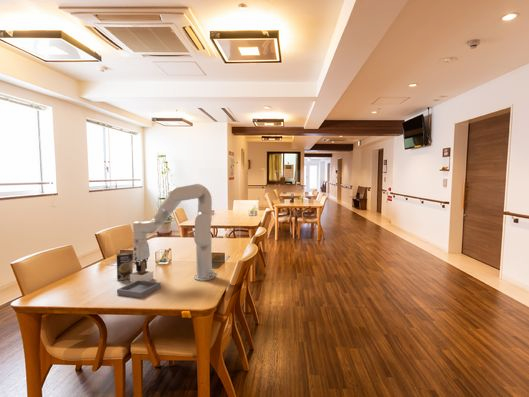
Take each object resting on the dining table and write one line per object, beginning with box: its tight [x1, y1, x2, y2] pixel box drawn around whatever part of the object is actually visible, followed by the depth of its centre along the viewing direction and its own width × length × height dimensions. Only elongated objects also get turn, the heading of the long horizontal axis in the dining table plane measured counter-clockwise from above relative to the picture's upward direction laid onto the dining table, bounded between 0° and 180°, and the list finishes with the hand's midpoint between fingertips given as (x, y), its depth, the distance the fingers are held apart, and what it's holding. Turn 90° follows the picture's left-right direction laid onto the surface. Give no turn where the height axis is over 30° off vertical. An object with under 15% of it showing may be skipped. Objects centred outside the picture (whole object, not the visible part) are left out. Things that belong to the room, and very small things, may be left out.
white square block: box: [129, 269, 154, 283], centre depth 189 cm, size 10×10×5 cm
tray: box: [116, 280, 161, 299], centre depth 171 cm, size 16×16×3 cm
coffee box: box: [115, 251, 134, 282], centre depth 192 cm, size 9×6×16 cm
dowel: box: [138, 260, 147, 275], centre depth 188 cm, size 4×4×12 cm
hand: (141, 269), depth 188 cm, fingers closed on dowel, 4 cm apart
